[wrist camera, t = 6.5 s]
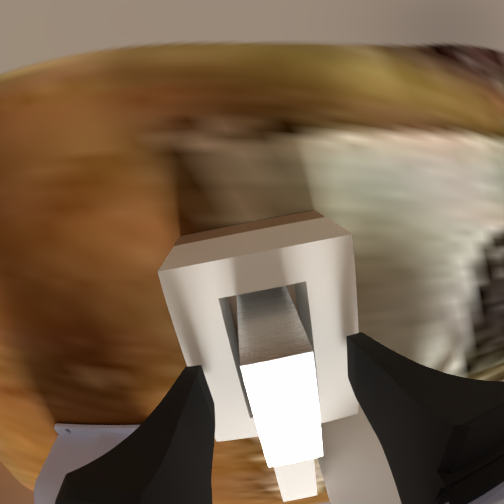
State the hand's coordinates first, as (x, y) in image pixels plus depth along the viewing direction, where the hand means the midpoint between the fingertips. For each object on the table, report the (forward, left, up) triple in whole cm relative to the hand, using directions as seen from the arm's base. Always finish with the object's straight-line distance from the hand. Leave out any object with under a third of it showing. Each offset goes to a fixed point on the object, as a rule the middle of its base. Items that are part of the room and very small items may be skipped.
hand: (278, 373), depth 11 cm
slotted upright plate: (0, -5, -6) cm, 8 cm away
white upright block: (0, 0, -4) cm, 4 cm away
